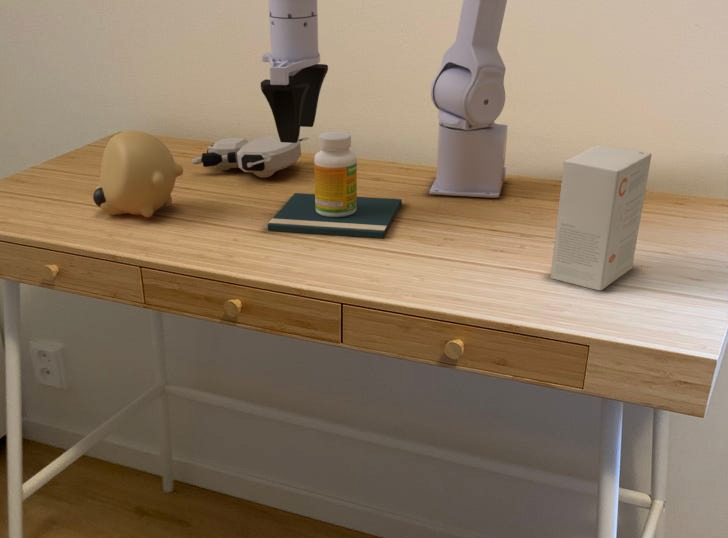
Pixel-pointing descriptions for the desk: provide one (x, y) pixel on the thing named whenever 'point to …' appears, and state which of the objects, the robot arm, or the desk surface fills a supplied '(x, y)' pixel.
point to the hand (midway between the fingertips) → (297, 133)
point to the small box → (599, 215)
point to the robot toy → (251, 155)
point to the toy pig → (136, 175)
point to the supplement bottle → (335, 175)
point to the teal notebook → (364, 222)
